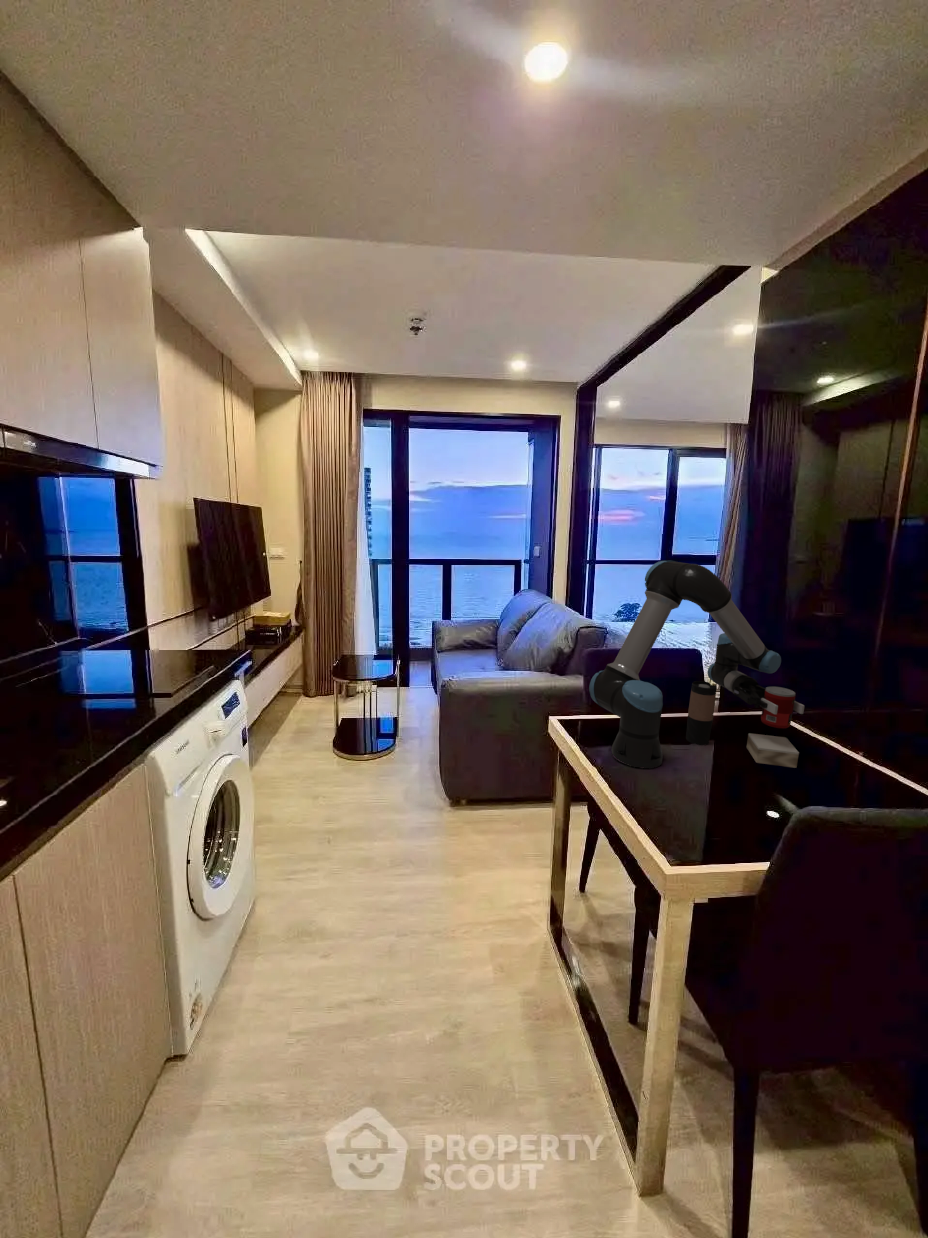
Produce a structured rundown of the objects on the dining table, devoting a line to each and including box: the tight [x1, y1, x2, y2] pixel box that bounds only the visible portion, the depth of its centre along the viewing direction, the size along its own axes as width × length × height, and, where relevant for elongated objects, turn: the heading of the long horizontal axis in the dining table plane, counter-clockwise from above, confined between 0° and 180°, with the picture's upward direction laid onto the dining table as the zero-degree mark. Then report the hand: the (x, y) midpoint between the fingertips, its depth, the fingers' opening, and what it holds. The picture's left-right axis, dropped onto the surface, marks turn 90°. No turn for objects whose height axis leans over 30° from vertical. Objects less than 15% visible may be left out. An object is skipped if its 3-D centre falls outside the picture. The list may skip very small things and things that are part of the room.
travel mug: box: [685, 680, 718, 746], centre depth 168 cm, size 8×8×20 cm
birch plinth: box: [746, 732, 800, 769], centre depth 159 cm, size 11×11×5 cm
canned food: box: [760, 686, 796, 729], centre depth 156 cm, size 8×8×11 cm
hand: (789, 710), depth 151 cm, fingers closed on canned food, 8 cm apart
